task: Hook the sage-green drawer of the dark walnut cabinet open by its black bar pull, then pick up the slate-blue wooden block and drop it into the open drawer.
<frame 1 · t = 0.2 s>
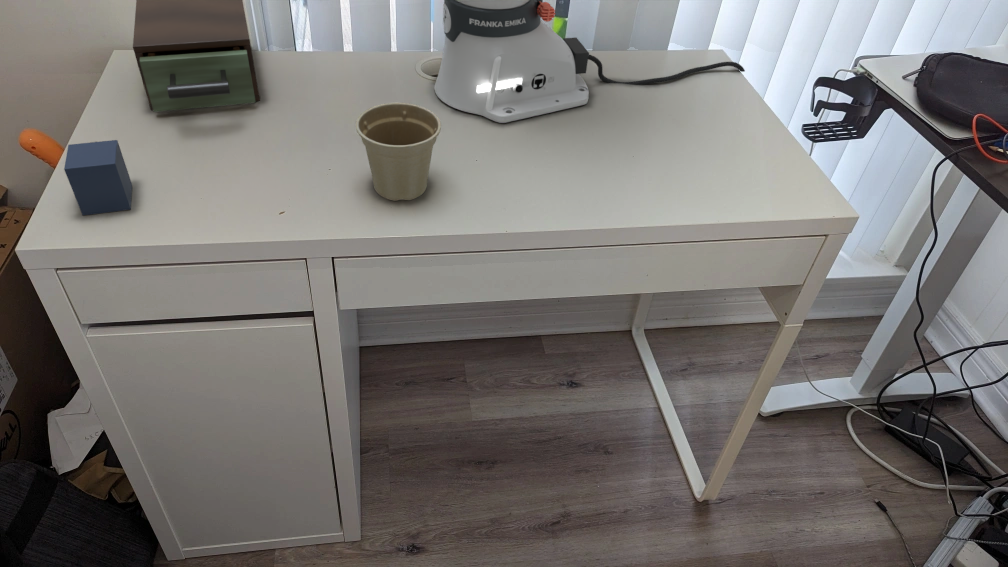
block: (108, 200, 80), on the table
drawer: (199, 66, 96), point 4 cm above the table, slide at 1.0 cm
cabinet: (204, 78, 102), on the table
flower pot: (400, 188, 86), on the table
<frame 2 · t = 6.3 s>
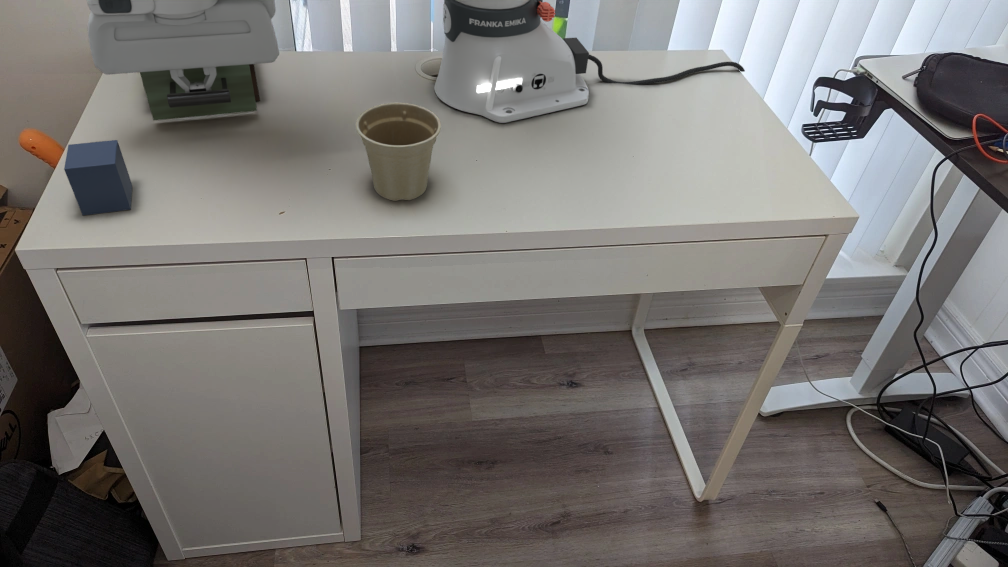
hand: (200, 98, 89), 5 cm above the table, tool pointing down, fingers closed
drawer: (199, 73, 94), point 4 cm above the table, slide at 3.2 cm, touching gripper
everything else where it was.
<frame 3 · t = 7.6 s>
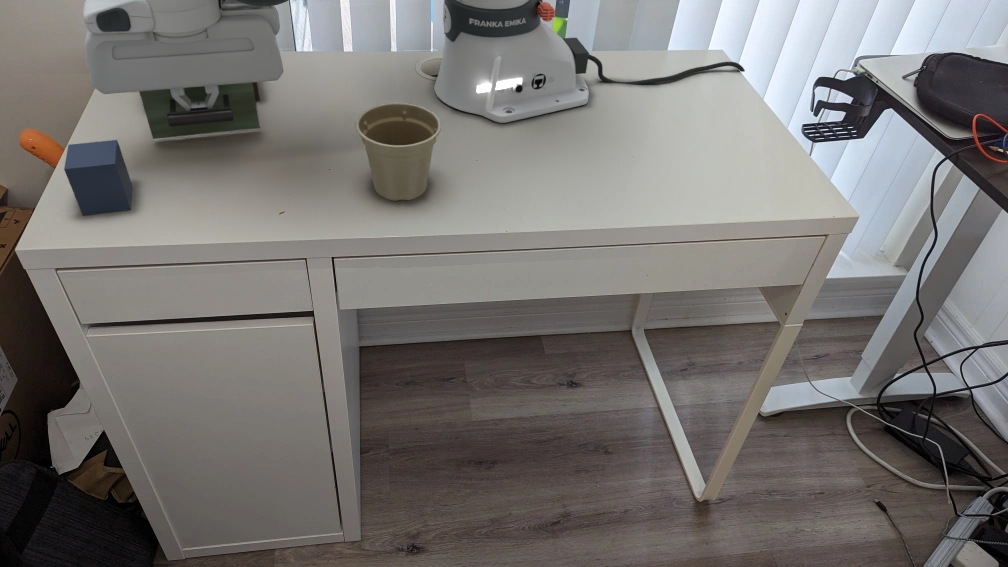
hand: (201, 117, 86), 5 cm above the table, tool pointing down, fingers closed, pressing on drawer
drawer: (200, 90, 91), point 4 cm above the table, slide at 7.7 cm, touching gripper
everything else where it was.
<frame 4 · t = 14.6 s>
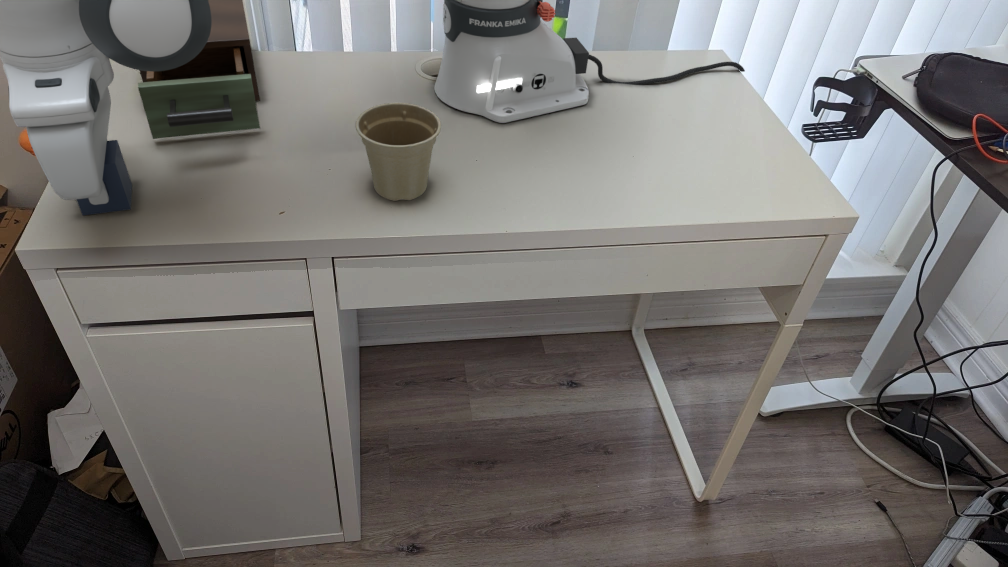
hand: (102, 184, 79), 2 cm above the table, tool pointing down, fingers closed on block, 5 cm apart
block: (108, 199, 80), on the table, touching gripper
drawer: (200, 90, 91), point 4 cm above the table, slide at 7.7 cm
everything else where it was.
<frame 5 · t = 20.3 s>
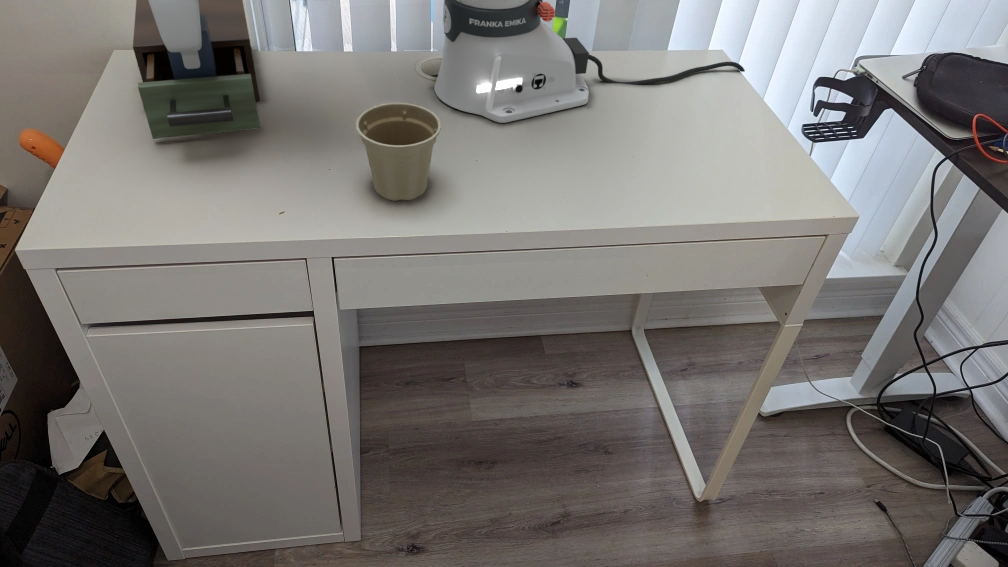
hand: (192, 54, 88), 9 cm above the table, tool pointing down, fingers closed on block, 5 cm apart
block: (195, 70, 90), point 7 cm above the table, touching gripper
everything else where it was.
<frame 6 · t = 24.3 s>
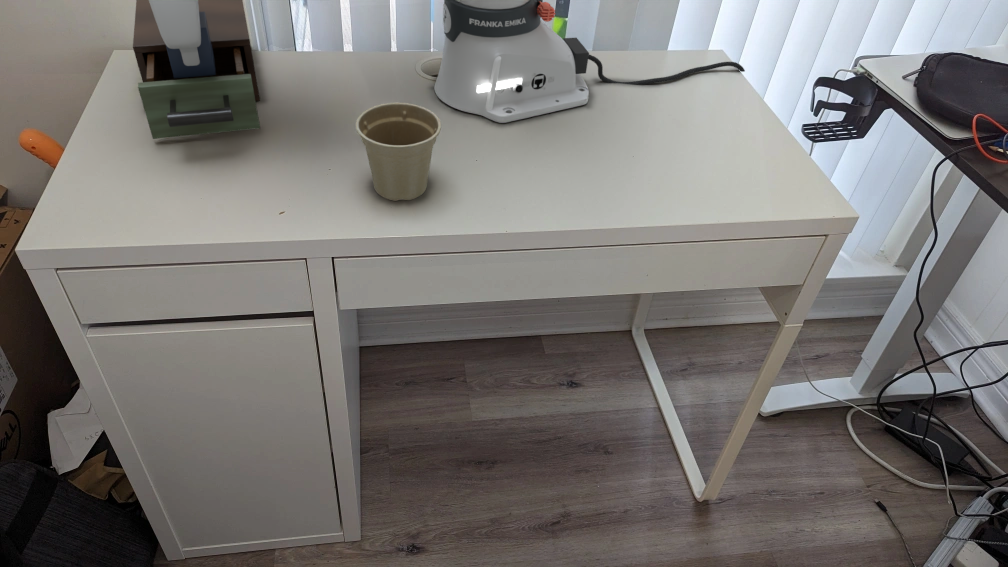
hand: (191, 52, 88), 9 cm above the table, tool pointing down, fingers closed on block, 5 cm apart
block: (194, 68, 90), point 7 cm above the table, touching gripper
everything else where it was.
when the fingers open (11 cm above the table, at t = 34.0 s): block drops 7 cm, resting on drawer.
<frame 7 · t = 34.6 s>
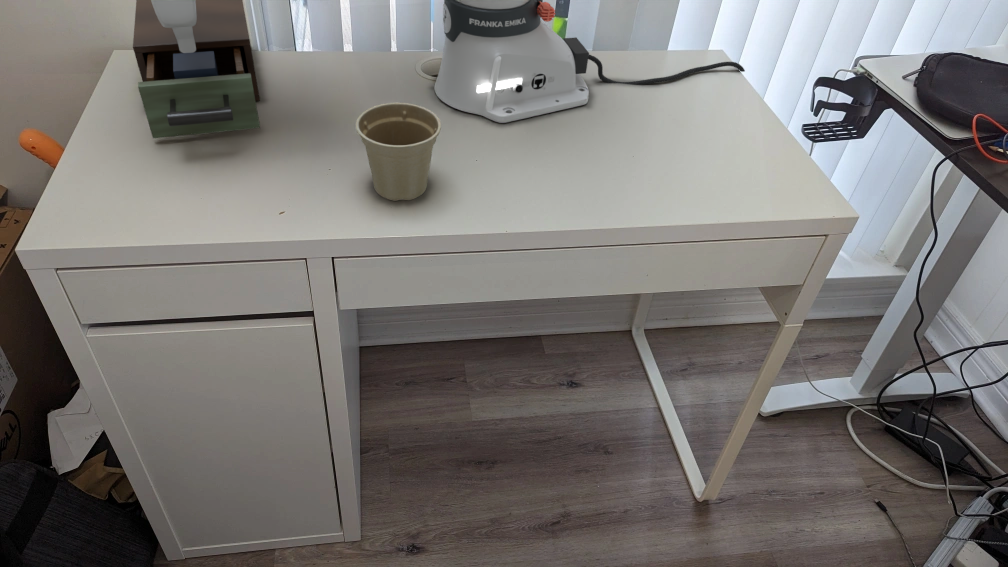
hand: (187, 33, 87), 12 cm above the table, tool pointing down, fingers open, 8 cm apart
block: (204, 104, 93), point 2 cm above the table, touching drawer
drawer: (200, 89, 91), point 4 cm above the table, slide at 7.6 cm, touching block
everything else where it was.
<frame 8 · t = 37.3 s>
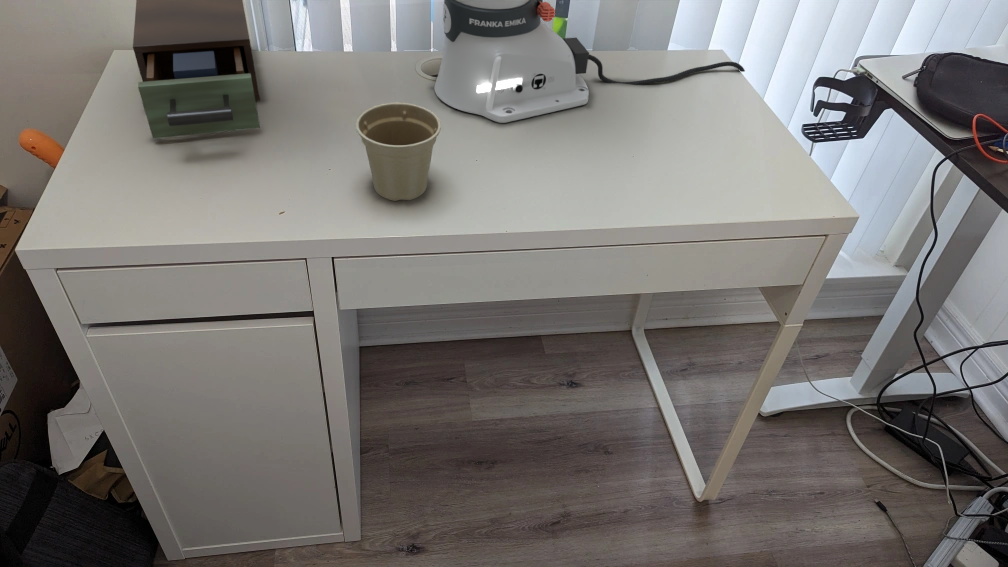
nothing on the table moved.
at the end: drawer slide at 7.6 cm; block inside the target area in the cabinet (8.5 cm from its centre), point 2.1 cm above the cabinet's base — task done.
